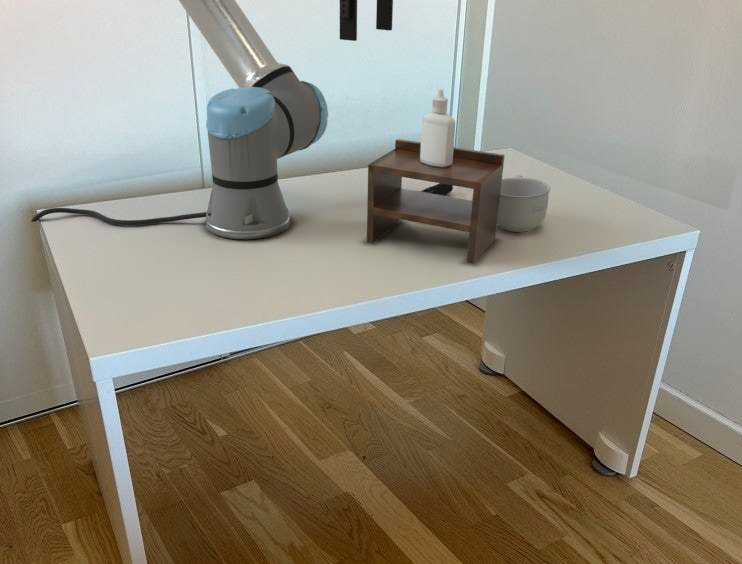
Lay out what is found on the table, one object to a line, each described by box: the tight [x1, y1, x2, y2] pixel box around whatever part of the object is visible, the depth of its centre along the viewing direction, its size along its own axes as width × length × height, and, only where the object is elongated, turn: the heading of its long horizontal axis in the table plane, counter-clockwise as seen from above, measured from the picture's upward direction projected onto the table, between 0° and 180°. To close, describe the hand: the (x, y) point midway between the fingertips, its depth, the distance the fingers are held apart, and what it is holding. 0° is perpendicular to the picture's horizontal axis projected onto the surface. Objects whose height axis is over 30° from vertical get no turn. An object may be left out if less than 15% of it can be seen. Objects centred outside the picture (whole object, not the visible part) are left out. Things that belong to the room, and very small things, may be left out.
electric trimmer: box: [420, 183, 454, 196], centre depth 152 cm, size 4×16×3 cm, turn 142°
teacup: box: [497, 175, 551, 233], centre depth 142 cm, size 14×11×8 cm
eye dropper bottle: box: [420, 89, 456, 167], centre depth 125 cm, size 4×6×12 cm
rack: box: [366, 138, 506, 265], centre depth 131 cm, size 20×12×16 cm, turn 64°
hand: (366, 34), depth 126 cm, fingers open, 13 cm apart
